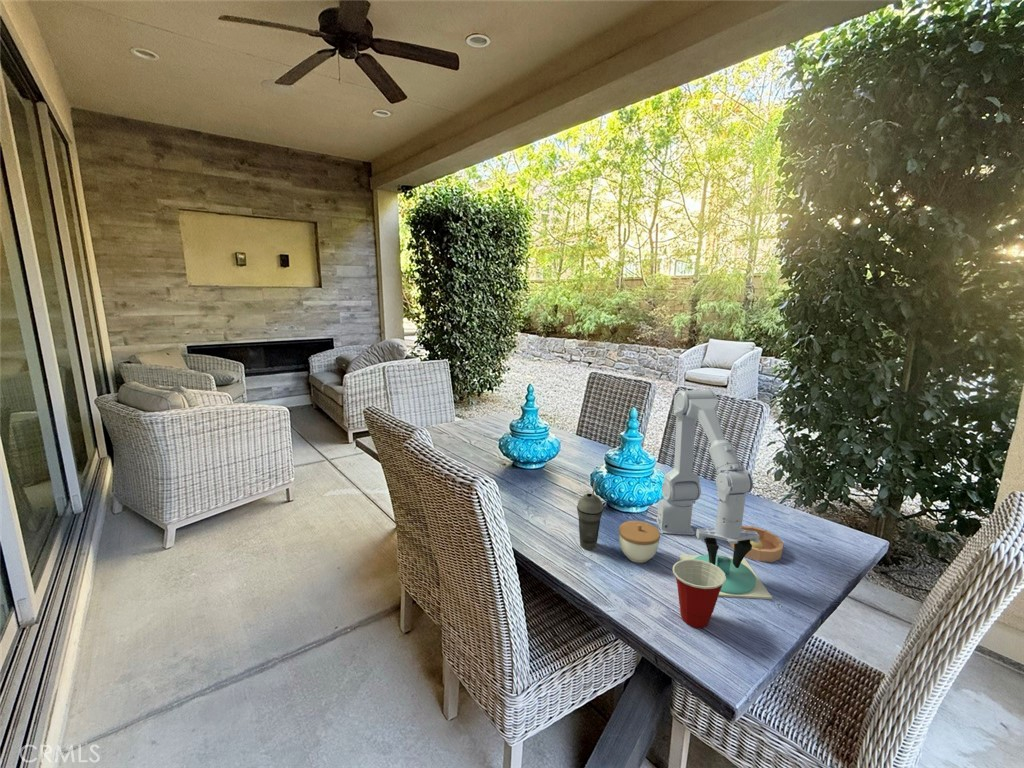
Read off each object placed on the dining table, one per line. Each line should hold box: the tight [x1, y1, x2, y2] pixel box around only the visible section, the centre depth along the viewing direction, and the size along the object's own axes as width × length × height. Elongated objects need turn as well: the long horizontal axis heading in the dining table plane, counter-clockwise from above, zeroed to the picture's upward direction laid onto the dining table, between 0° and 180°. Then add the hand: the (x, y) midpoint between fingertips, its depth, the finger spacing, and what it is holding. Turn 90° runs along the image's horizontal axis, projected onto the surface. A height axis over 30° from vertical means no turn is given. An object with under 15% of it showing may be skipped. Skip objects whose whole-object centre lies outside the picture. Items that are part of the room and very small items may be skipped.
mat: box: [679, 554, 773, 600], centre depth 117 cm, size 17×16×1 cm
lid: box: [695, 554, 756, 594], centre depth 116 cm, size 15×15×4 cm
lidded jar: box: [618, 520, 661, 564], centre depth 124 cm, size 11×11×9 cm
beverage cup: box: [576, 480, 604, 551], centre depth 128 cm, size 7×7×20 cm
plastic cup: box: [672, 559, 726, 629], centre depth 101 cm, size 11×11×12 cm
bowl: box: [728, 525, 784, 563], centre depth 129 cm, size 13×13×4 cm
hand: (723, 565), depth 116 cm, fingers open, 5 cm apart
